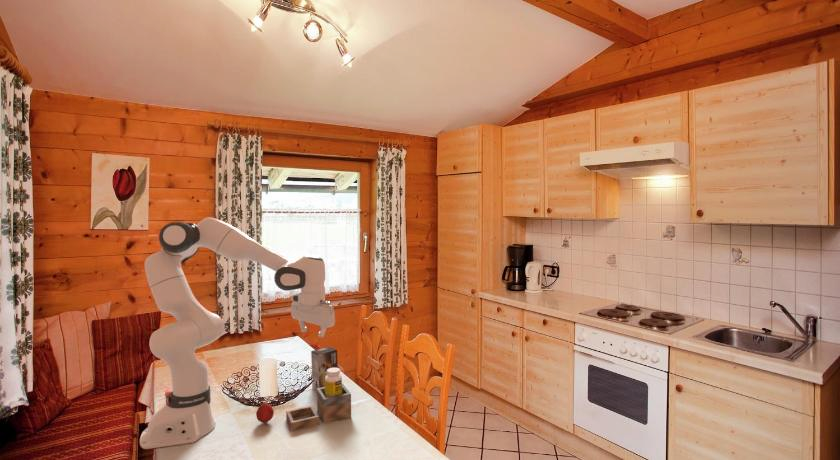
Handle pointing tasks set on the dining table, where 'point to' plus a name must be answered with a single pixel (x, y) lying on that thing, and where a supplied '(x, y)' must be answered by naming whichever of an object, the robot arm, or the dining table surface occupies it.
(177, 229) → the robot arm
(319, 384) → the coffee box
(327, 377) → the pill bottle
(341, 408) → the stepped holder
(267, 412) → the onion
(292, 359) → the dining table surface
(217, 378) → the dining table surface
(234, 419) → the dining table surface
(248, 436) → the dining table surface
